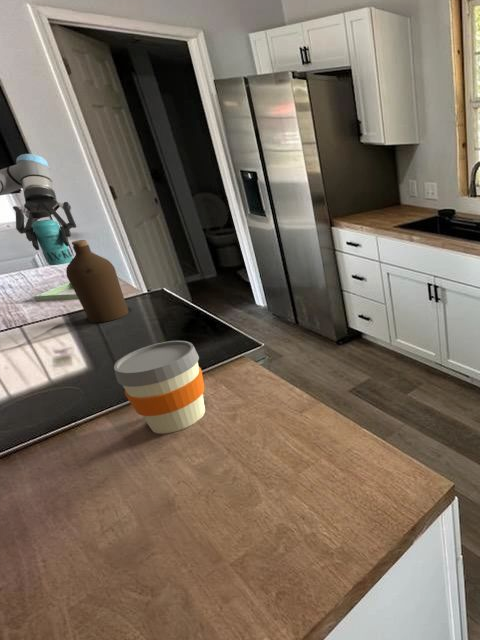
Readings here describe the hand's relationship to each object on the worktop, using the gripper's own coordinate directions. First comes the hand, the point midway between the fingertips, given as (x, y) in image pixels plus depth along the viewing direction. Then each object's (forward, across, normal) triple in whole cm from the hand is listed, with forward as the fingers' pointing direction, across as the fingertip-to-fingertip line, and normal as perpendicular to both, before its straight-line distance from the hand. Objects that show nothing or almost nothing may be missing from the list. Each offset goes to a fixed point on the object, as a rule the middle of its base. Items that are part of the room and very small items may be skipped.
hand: (51, 245), depth 141 cm
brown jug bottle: (+36, -11, +9) cm, 39 cm away
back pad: (+12, 0, -15) cm, 19 cm away
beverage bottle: (+4, 0, -9) cm, 9 cm away
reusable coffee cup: (+91, -25, +64) cm, 114 cm away
